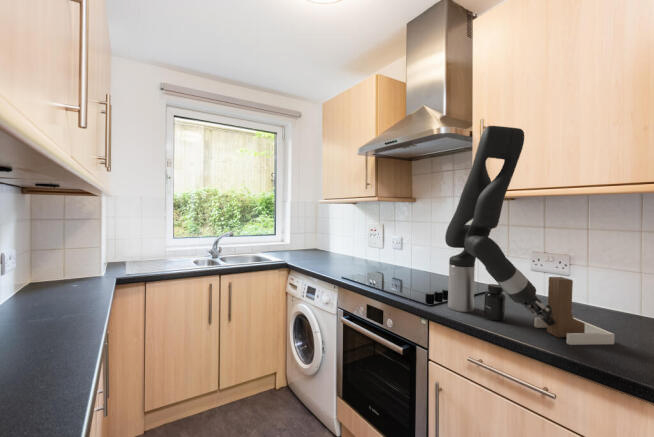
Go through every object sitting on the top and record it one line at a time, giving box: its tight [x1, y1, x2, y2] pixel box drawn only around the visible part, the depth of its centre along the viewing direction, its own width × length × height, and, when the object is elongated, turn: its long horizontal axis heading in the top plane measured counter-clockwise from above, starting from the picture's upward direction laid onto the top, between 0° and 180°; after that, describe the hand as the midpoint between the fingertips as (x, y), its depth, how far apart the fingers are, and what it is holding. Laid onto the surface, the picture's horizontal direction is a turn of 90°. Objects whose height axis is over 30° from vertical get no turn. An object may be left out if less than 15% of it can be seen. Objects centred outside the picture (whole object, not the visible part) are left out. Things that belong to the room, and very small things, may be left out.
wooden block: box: [546, 276, 585, 338], centre depth 98 cm, size 9×4×18 cm, turn 93°
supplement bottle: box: [483, 283, 507, 322], centre depth 112 cm, size 7×7×12 cm
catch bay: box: [533, 317, 615, 346], centre depth 98 cm, size 14×14×3 cm
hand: (551, 323), depth 97 cm, fingers closed
